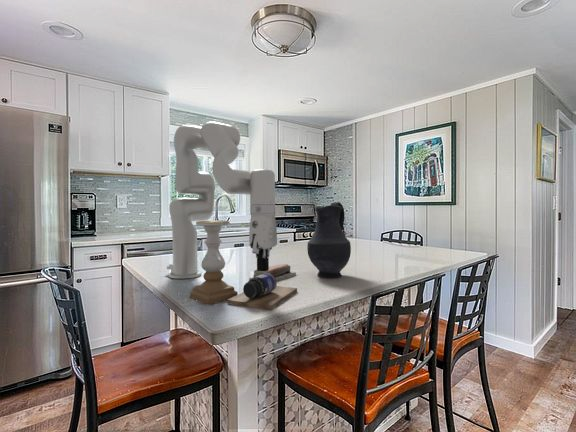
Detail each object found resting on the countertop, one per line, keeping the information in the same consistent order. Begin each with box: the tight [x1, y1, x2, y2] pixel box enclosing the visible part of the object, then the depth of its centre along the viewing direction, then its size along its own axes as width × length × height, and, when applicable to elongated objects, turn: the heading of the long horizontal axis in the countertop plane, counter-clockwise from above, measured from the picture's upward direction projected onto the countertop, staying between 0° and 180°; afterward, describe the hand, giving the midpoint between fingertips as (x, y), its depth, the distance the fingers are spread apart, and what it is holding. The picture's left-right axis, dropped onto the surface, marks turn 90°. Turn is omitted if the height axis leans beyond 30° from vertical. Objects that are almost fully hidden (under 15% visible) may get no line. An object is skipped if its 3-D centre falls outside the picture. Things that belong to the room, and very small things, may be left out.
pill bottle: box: [242, 273, 278, 298], centre depth 98 cm, size 6×6×11 cm
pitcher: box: [306, 201, 352, 279], centre depth 131 cm, size 17×21×30 cm
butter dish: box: [248, 263, 297, 282], centre depth 128 cm, size 18×5×10 cm
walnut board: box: [226, 285, 298, 311], centre depth 100 cm, size 14×20×1 cm
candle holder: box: [189, 220, 238, 306], centre depth 100 cm, size 11×11×24 cm
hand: (262, 270), depth 98 cm, fingers closed
